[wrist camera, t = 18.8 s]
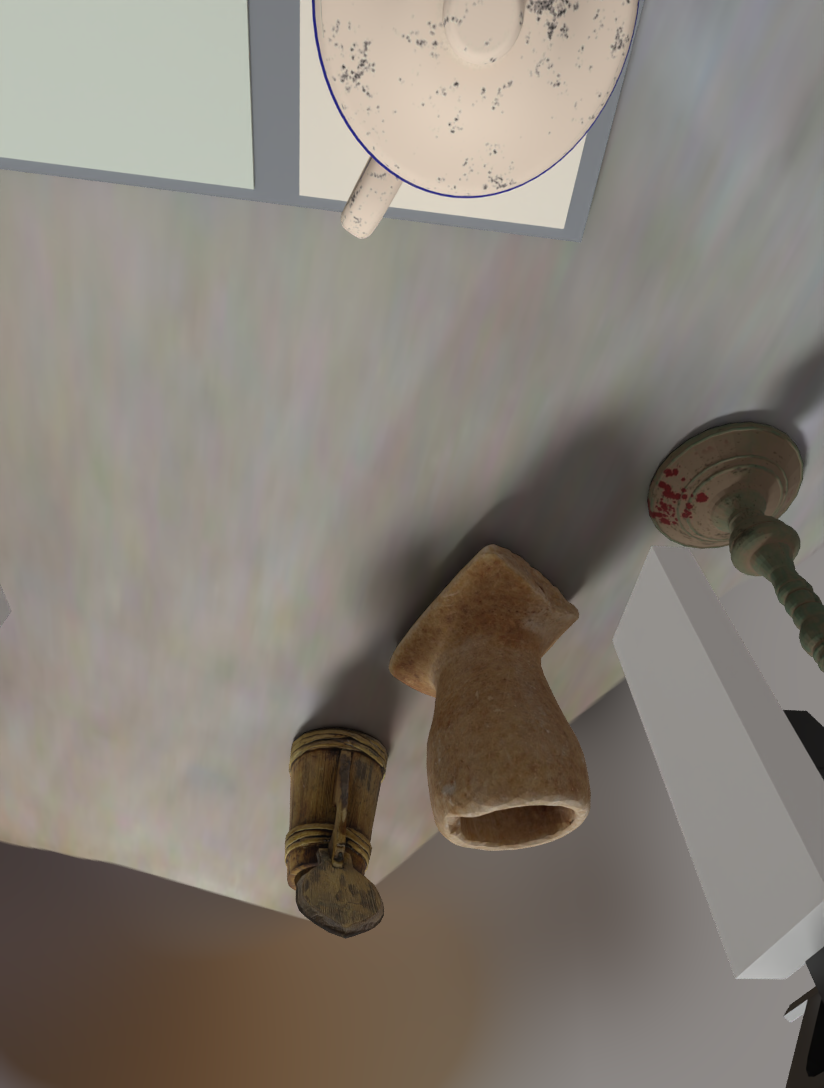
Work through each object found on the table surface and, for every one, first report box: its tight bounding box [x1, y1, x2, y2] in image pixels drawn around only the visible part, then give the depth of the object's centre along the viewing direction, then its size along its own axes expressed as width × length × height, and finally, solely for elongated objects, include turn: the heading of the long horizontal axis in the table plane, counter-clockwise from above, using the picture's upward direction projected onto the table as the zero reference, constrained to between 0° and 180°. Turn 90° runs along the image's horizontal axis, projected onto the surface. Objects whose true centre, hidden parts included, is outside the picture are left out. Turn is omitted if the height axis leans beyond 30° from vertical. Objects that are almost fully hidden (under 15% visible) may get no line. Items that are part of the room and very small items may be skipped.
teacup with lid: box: [312, 0, 639, 239], centre depth 21 cm, size 12×9×12 cm
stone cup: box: [389, 544, 591, 851], centre depth 41 cm, size 15×12×15 cm
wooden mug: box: [285, 728, 387, 938], centre depth 50 cm, size 9×14×18 cm, turn 162°
